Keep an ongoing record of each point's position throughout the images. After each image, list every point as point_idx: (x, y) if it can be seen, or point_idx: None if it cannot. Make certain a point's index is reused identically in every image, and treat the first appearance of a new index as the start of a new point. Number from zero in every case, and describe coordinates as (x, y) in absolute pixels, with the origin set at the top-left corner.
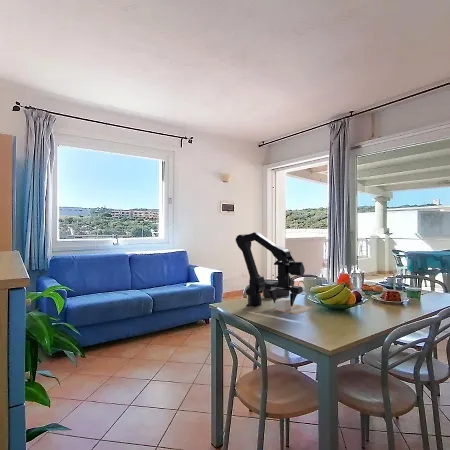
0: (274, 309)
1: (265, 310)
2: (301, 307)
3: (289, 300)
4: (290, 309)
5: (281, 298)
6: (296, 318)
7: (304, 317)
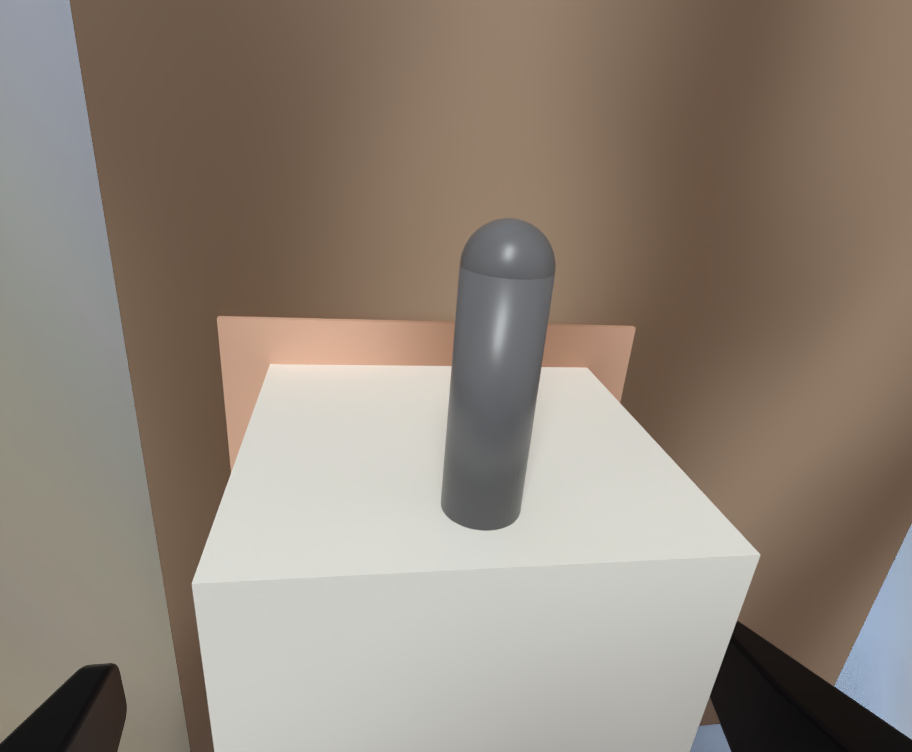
0: None
1: None
2: (859, 77)
3: (693, 696)
4: None
5: (234, 723)
6: None
7: (903, 641)
